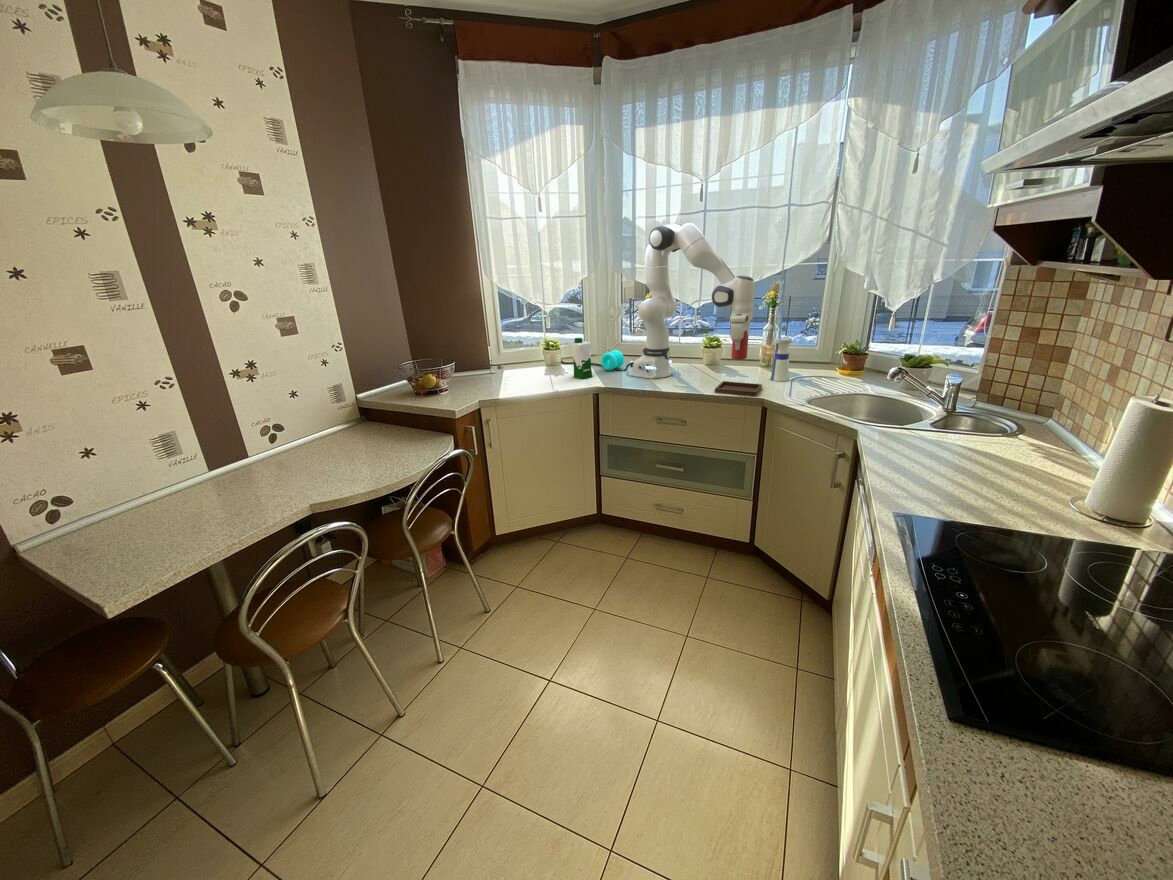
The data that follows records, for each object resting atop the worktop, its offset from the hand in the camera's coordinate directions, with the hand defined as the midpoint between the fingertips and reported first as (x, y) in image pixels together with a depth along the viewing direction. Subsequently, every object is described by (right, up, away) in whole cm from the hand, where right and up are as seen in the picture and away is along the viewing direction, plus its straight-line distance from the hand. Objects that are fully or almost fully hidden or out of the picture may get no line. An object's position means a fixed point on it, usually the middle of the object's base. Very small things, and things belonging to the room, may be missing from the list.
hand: (739, 348), depth 209 cm
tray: (+1, -18, +4) cm, 19 cm away
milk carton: (-69, -7, +41) cm, 81 cm away
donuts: (-53, -1, +55) cm, 76 cm away
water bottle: (+25, -12, +19) cm, 34 cm away
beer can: (0, -5, +2) cm, 5 cm away
